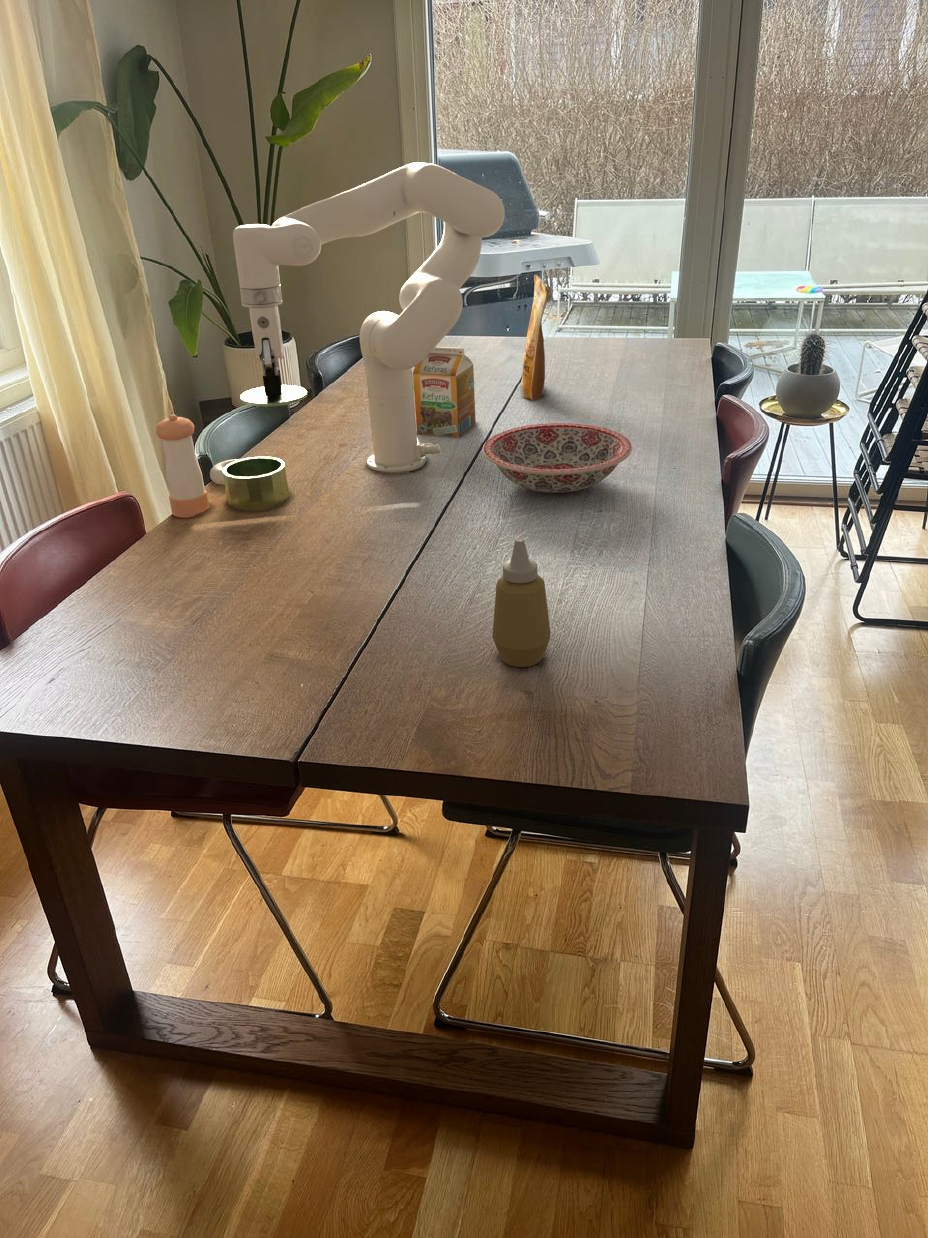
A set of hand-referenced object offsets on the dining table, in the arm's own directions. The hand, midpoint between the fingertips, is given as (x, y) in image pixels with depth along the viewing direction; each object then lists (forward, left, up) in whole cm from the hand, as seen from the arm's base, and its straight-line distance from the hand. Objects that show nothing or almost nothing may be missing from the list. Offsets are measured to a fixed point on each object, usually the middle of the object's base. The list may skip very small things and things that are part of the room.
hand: (273, 392), depth 187 cm
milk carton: (-37, -27, -20) cm, 50 cm away
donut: (+11, -6, -20) cm, 23 cm away
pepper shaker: (+19, +9, -20) cm, 28 cm away
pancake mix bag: (-64, -51, -20) cm, 85 cm away
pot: (+6, +7, -19) cm, 21 cm away
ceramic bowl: (-53, +15, -20) cm, 59 cm away
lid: (0, 0, -1) cm, 1 cm away
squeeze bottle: (-32, +78, -20) cm, 87 cm away
